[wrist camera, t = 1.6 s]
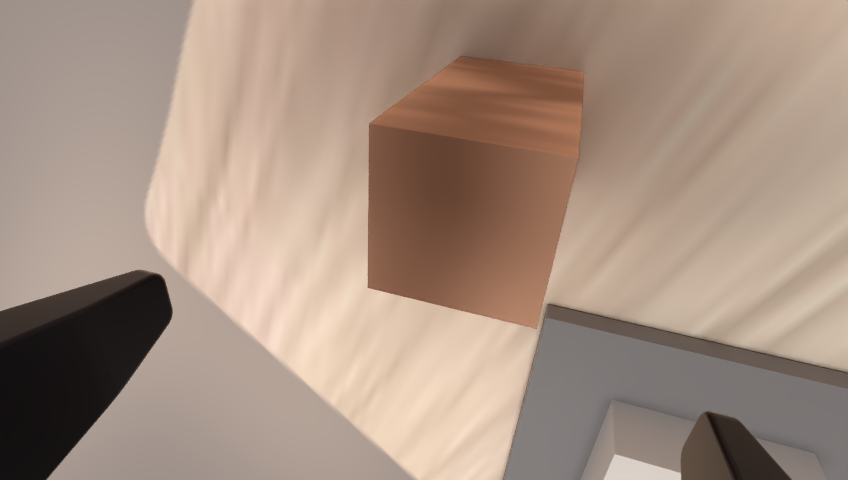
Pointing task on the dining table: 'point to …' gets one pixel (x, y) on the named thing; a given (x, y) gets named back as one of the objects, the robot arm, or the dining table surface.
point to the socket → (666, 403)
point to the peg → (474, 187)
